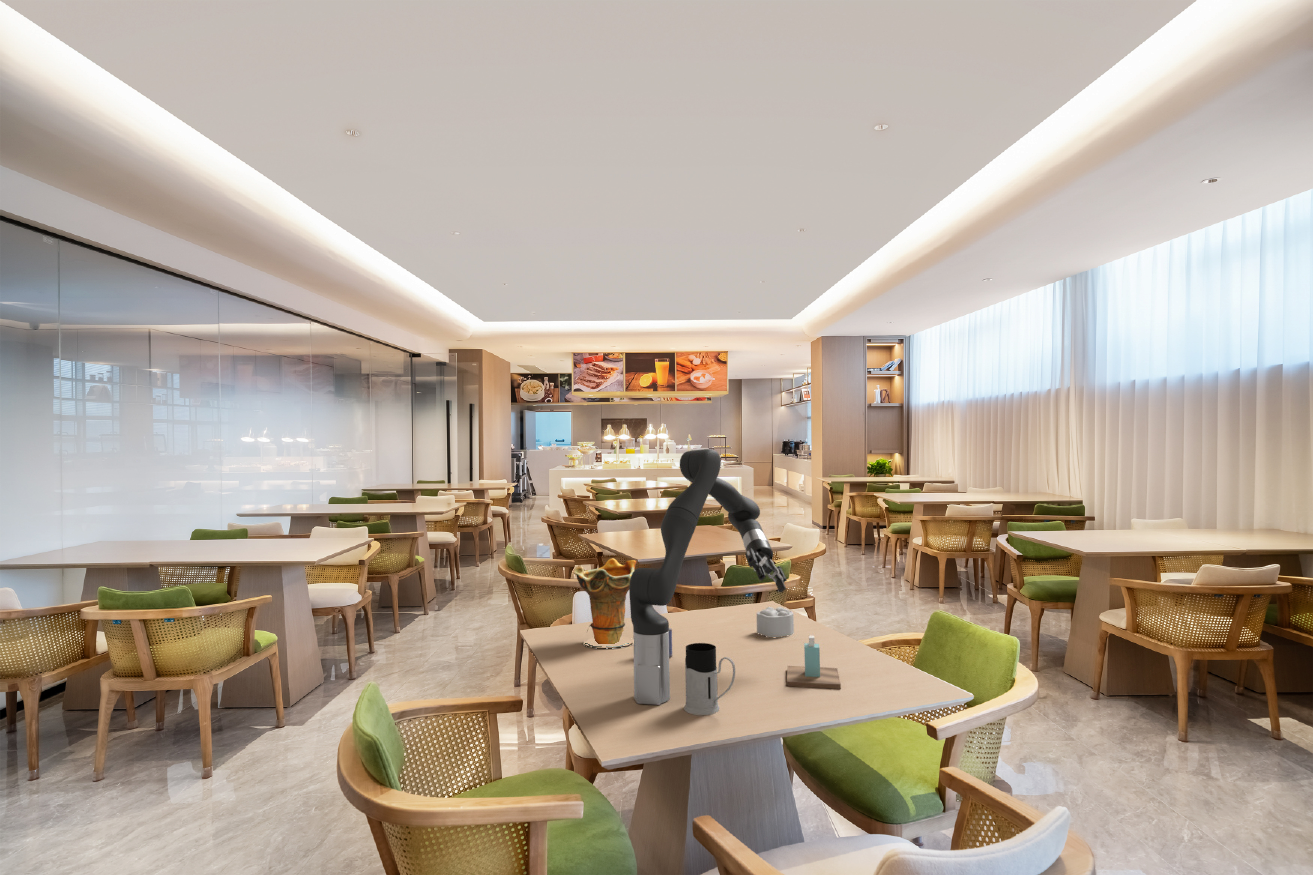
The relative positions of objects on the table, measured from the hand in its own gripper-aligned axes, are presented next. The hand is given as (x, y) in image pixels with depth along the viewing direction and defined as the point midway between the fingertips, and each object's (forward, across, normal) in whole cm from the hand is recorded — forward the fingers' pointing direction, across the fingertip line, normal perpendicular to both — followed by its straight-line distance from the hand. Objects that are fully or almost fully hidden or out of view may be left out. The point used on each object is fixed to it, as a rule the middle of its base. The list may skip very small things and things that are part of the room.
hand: (773, 584), depth 189 cm
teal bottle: (+20, +16, +8) cm, 26 cm away
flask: (-5, -4, +45) cm, 46 cm away
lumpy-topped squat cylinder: (-20, +39, +26) cm, 51 cm away
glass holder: (+34, -16, +21) cm, 43 cm away
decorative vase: (-21, -8, +62) cm, 66 cm away
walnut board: (+20, +17, +8) cm, 27 cm away
